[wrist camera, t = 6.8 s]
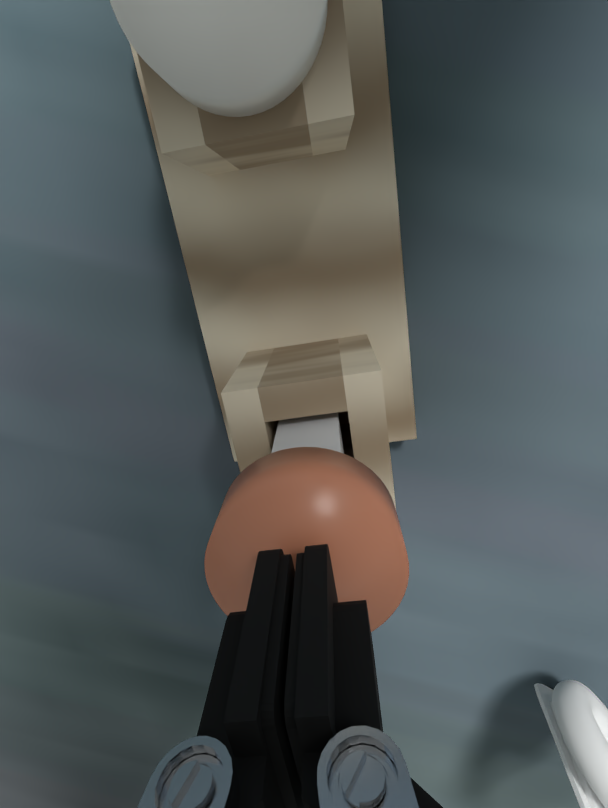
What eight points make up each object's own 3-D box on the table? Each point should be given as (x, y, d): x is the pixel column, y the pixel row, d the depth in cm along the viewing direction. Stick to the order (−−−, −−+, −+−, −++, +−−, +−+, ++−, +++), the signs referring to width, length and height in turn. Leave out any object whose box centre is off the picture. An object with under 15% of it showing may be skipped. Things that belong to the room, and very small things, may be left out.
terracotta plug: (240, 388, 18) (181, 499, 11) (367, 370, 17) (400, 473, 10) (265, 496, 20) (229, 655, 12) (380, 482, 19) (416, 640, 12)
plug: (181, 10, 17) (66, -167, 9) (315, -22, 16) (308, -235, 9) (213, 162, 19) (139, 116, 11) (335, 138, 18) (342, 73, 11)
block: (138, 32, 19) (27, -85, 12) (374, -22, 18) (406, -186, 11) (239, 449, 26) (207, 530, 19) (411, 427, 25) (445, 503, 18)
